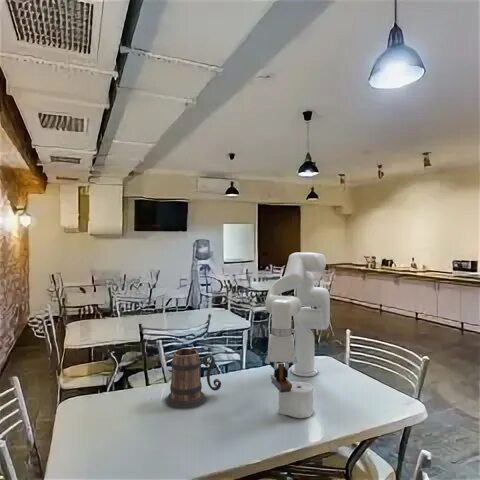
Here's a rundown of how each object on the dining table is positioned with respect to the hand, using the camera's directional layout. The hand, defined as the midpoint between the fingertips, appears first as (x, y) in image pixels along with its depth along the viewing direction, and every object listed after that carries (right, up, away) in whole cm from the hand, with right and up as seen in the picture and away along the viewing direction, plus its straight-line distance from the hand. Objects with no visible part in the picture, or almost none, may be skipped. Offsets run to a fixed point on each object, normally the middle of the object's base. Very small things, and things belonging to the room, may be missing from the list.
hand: (280, 378), depth 158 cm
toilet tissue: (+7, -13, +1) cm, 15 cm away
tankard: (-35, -13, +13) cm, 39 cm away
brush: (0, -3, 0) cm, 3 cm away
